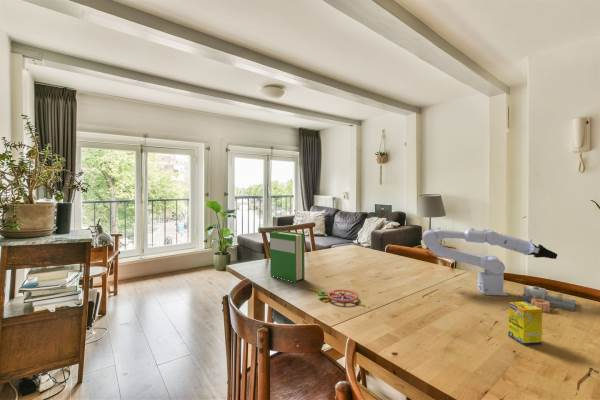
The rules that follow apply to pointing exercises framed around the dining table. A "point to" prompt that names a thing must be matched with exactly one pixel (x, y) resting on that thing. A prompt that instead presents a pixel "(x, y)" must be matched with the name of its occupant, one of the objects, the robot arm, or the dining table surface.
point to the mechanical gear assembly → (339, 296)
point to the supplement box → (525, 323)
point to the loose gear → (541, 304)
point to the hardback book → (287, 255)
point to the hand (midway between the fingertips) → (552, 255)
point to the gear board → (548, 298)
